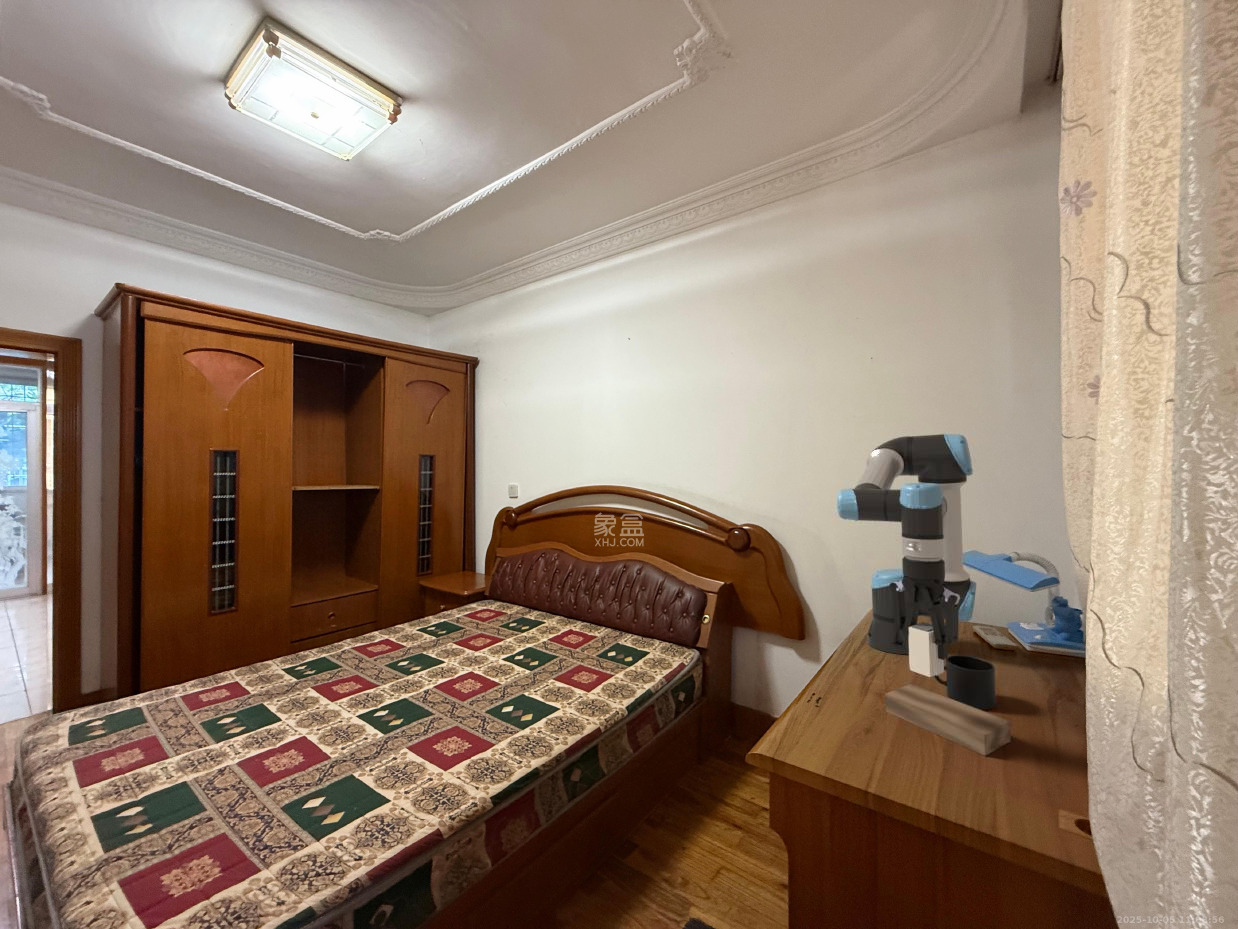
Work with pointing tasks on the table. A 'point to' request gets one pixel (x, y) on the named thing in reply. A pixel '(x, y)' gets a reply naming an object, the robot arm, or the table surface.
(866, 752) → the table surface
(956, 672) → the mug
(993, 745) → the wooden plank
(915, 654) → the block
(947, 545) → the robot arm
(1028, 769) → the table surface
